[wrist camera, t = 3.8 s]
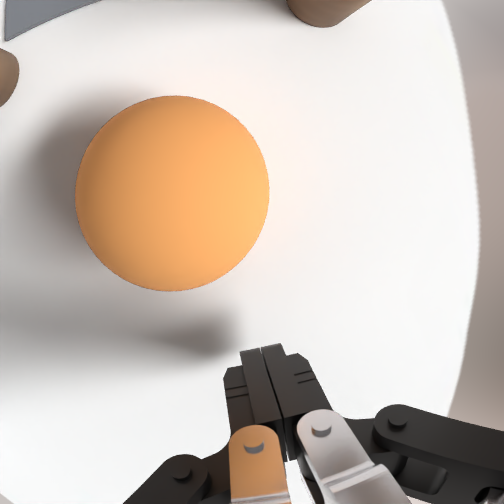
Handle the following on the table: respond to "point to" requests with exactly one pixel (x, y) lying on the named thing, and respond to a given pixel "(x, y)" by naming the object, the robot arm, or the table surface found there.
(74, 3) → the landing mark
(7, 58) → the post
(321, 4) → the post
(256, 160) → the ball
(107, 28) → the table surface
